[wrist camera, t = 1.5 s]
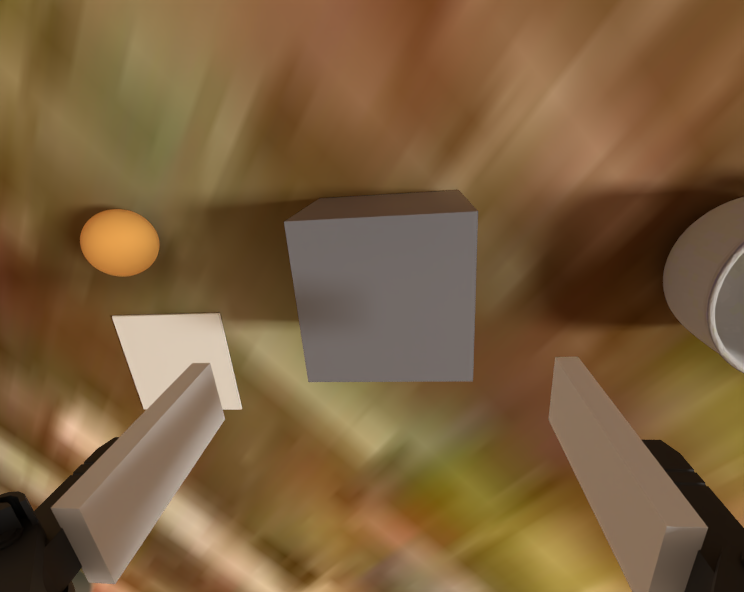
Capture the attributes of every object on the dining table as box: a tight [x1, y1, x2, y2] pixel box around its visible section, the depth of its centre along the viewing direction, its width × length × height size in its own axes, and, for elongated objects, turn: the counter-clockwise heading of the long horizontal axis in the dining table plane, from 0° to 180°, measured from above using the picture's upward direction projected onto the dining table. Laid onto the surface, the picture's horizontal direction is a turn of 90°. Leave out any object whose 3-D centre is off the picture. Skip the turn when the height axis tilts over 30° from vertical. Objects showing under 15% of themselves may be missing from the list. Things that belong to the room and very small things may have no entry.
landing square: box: [112, 313, 242, 409], centre depth 36 cm, size 10×10×1 cm
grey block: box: [284, 190, 478, 382], centre depth 26 cm, size 10×10×9 cm
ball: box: [80, 209, 159, 276], centre depth 29 cm, size 5×5×5 cm
